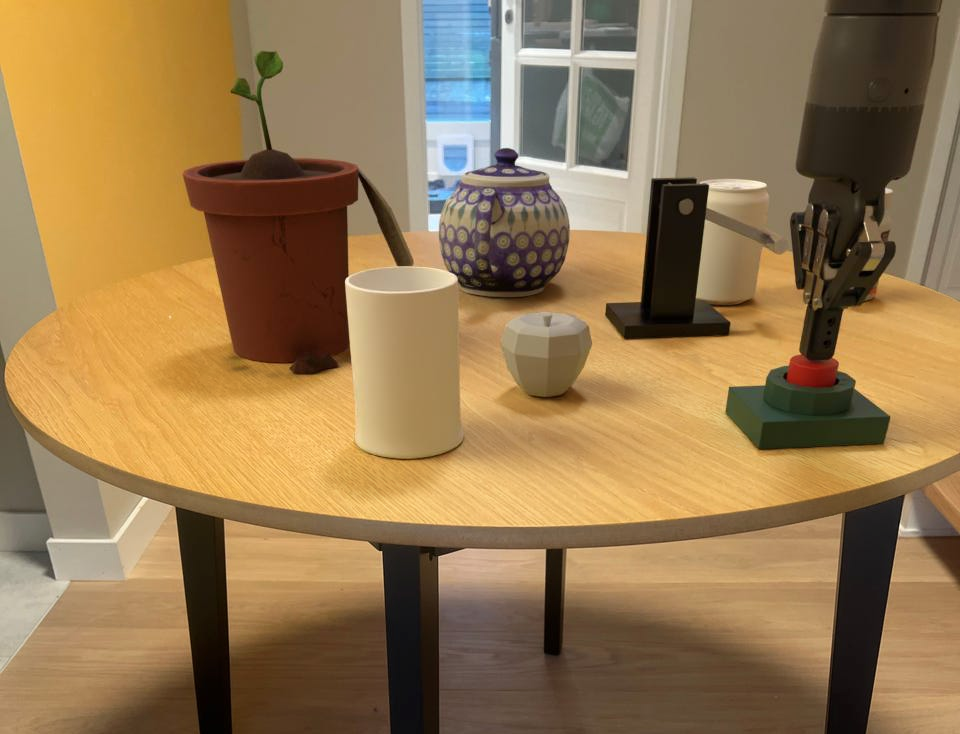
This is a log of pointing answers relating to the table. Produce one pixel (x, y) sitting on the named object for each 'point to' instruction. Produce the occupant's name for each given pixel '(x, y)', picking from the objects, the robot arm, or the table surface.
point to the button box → (805, 413)
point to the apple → (546, 351)
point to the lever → (748, 231)
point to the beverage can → (731, 242)
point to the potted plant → (285, 244)
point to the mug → (405, 360)
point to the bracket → (671, 268)
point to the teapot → (504, 230)
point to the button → (812, 372)
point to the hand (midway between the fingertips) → (815, 356)
